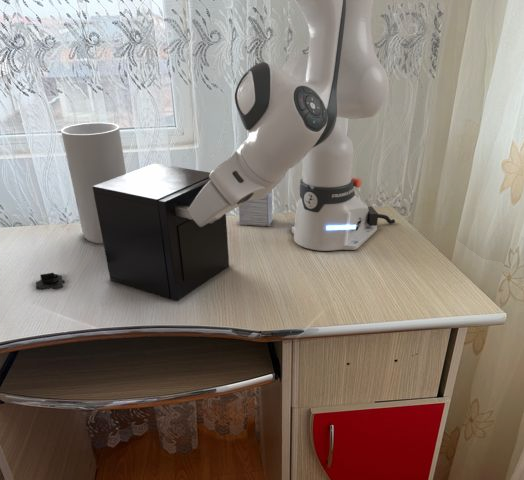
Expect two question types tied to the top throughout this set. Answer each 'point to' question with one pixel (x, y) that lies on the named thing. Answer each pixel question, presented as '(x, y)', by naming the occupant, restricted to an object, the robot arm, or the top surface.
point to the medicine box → (256, 212)
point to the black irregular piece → (50, 281)
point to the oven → (139, 224)
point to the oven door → (191, 243)
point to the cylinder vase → (92, 167)
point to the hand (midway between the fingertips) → (211, 218)
